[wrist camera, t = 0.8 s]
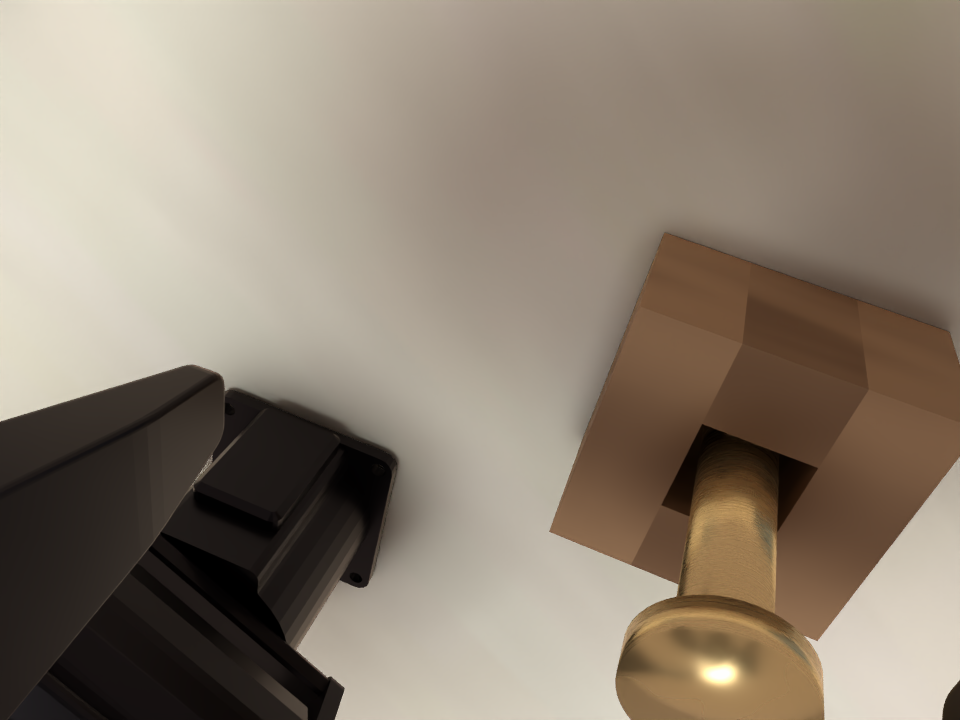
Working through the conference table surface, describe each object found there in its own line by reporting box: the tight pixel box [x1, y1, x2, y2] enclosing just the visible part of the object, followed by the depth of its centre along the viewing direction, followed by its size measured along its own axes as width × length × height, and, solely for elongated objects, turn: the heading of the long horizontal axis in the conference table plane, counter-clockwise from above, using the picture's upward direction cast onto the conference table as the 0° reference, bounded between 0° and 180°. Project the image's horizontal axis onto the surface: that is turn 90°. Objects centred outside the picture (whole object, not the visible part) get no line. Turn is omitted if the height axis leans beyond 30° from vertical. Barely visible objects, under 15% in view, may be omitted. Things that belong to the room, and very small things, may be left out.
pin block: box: [549, 233, 960, 641], centre depth 20 cm, size 7×7×4 cm
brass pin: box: [616, 425, 824, 720], centre depth 18 cm, size 3×3×10 cm
